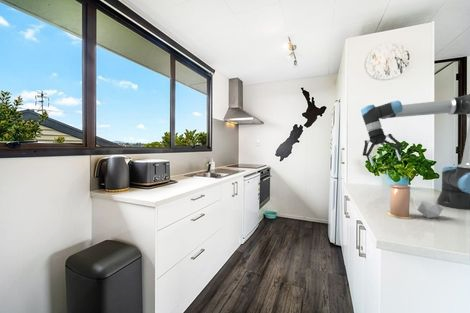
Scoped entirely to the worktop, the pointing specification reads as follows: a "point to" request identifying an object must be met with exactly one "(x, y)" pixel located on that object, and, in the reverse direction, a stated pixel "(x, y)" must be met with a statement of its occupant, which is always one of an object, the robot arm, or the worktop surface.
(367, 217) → the worktop surface
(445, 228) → the worktop surface
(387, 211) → the disc
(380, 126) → the robot arm
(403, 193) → the jar
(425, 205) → the die
